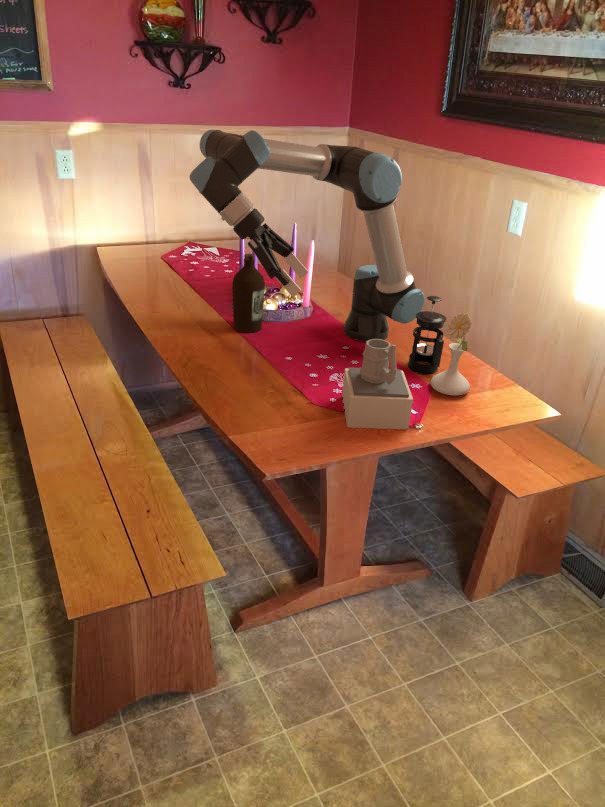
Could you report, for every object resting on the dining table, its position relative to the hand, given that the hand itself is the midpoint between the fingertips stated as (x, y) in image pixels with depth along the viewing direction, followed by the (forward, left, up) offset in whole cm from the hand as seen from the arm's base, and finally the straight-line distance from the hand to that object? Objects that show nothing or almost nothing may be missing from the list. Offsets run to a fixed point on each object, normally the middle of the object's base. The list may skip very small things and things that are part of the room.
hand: (301, 284), depth 166 cm
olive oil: (-48, -14, -34) cm, 61 cm away
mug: (+5, +22, -24) cm, 33 cm away
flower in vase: (-9, +46, -34) cm, 58 cm away
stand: (+5, +22, -34) cm, 40 cm away
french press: (-23, +41, -34) cm, 58 cm away
